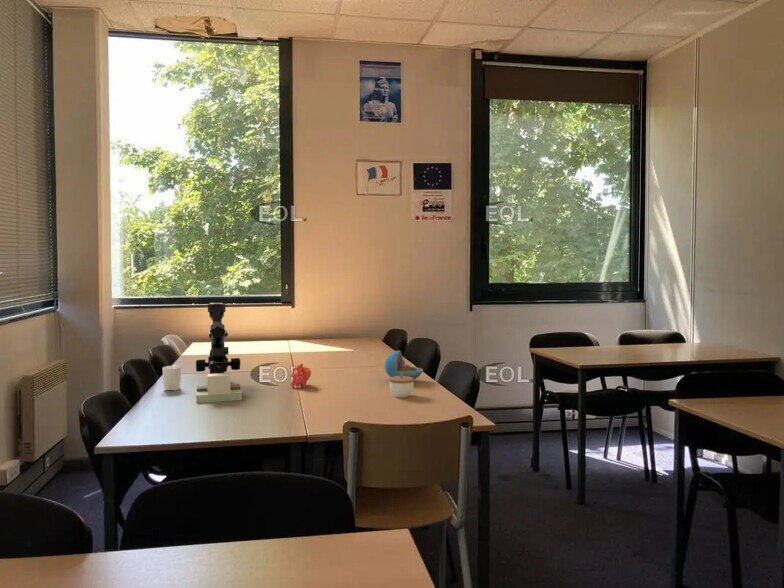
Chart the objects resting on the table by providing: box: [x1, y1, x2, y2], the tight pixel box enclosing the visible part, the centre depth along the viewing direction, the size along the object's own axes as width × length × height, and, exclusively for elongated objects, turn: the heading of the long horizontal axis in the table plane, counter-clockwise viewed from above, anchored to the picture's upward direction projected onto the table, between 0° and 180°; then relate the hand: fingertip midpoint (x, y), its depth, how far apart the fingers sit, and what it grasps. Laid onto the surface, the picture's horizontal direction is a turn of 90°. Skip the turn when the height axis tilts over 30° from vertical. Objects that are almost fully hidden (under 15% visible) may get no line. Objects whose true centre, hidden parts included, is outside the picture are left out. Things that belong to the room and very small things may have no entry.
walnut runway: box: [196, 383, 241, 393], centre depth 260 cm, size 12×18×3 cm
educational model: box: [384, 350, 424, 381], centre depth 291 cm, size 16×19×15 cm
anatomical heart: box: [290, 362, 312, 388], centre depth 278 cm, size 9×12×12 cm
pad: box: [195, 389, 243, 403], centre depth 251 cm, size 6×18×3 cm, turn 107°
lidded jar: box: [388, 374, 415, 399], centre depth 261 cm, size 11×11×9 cm
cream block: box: [207, 372, 231, 395], centre depth 251 cm, size 6×9×8 cm, turn 107°
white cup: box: [162, 365, 182, 391], centre depth 270 cm, size 8×8×10 cm
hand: (218, 380), depth 260 cm, fingers closed
